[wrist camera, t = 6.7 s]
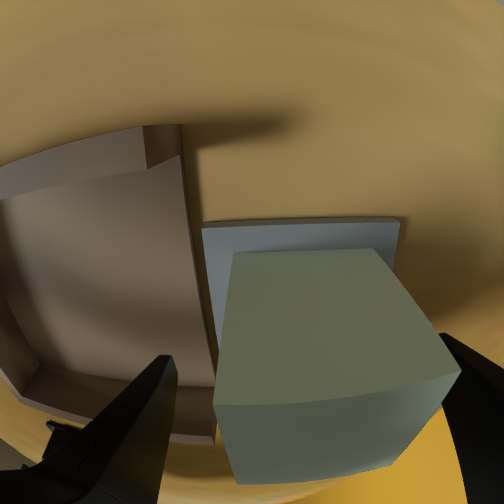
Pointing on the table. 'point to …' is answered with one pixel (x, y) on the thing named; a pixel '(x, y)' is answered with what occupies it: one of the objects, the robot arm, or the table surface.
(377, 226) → the slate tile
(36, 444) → the table surface
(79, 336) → the walnut crate
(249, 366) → the sage block
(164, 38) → the table surface
